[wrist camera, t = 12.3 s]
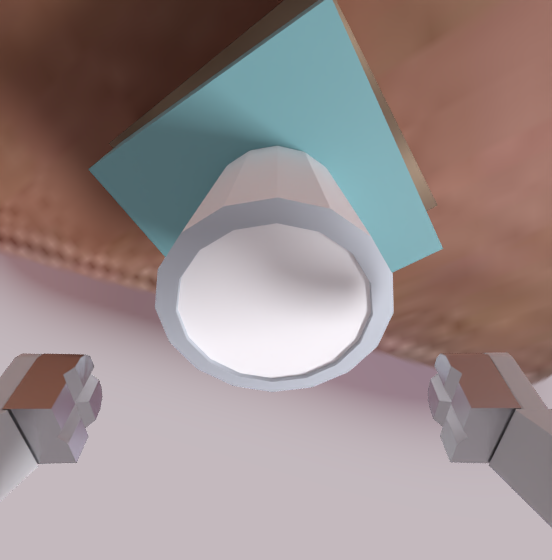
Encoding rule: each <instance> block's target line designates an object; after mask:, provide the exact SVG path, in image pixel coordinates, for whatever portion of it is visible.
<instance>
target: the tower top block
mask: <svg viewBox="0 0 552 560" xmlns="http://www.w3.org/2000/svg"><path fill="white" fill-rule="evenodd" d="M272 146H281V147H286V148H290V149H294V150H299V151H303V152H305V153H307V154H308V155H310V156H311V157H312V158H314V159H315V160H316V161H318V162H319V163H321V164H322V165H323V166H325V167H326V168H327V170H328V171H329V173H330V174H331V176H332V177H333V179H334V180H335V182H336V183H337V185H338V186H339V188H340V189H341V191H342V193H343V194H344V196H345V197H346V199H347V200H348V202H349V203H350V205H351V206H352V208H353V209H354V211H355V212H356V214H357V216H358V217H359V219H360V220H361V222H362V223H363V225H364V226H365V228H366V229H367V231H368V232H369V234H370V235H371V237H372V239H373V241H374V242H375V244H376V246H377V248H378V249H379V251H380V253H381V255H382V256H383V258H384V260H385V262H386V263H387V265H388V267H389V269H390V270H391V272H394V271H396V270H399V269H401V268H403V267H405V266H407V265H409V264H411V263H413V262H416V261H418V260H420V259H422V258H424V257H426V256H428V255H430V254H433V253H435V252H437V251H439V250H441V249H443V248H442V246H441V243H440V241H439V239H438V237H437V234H436V232H435V230H434V228H433V225H432V223H431V221H430V219H429V216H428V214H427V212H426V209H425V207H424V205H423V203H422V200H421V198H420V196H419V194H418V191H417V189H416V187H415V185H414V182H413V180H412V178H411V176H410V173H409V171H408V169H407V167H406V164H405V162H404V160H403V158H402V155H401V153H400V151H399V149H398V146H397V144H396V142H395V140H394V137H393V135H392V133H391V131H390V128H389V126H388V124H387V122H386V119H385V117H384V115H383V113H382V110H381V108H380V106H379V104H378V101H377V99H376V97H375V95H374V92H373V90H372V88H371V86H370V83H369V81H368V79H367V77H366V74H365V72H364V70H363V68H362V65H361V63H360V61H359V59H358V56H357V54H356V52H355V49H354V47H353V45H352V43H351V40H350V38H349V36H348V34H347V31H346V29H345V27H344V25H343V22H342V20H341V18H340V16H339V13H338V11H337V9H336V7H335V4H334V2H333V0H318V1H317V2H315V3H314V4H313V5H311V6H310V7H308V8H307V9H306V10H304V11H303V12H301V13H300V14H299V15H297V16H296V17H294V18H293V19H292V20H290V21H289V22H288V23H286V24H285V25H283V26H282V27H281V28H279V29H278V30H276V31H275V32H274V33H272V34H271V35H269V36H268V37H267V38H265V39H264V40H262V41H261V42H260V43H258V44H257V45H256V46H254V47H253V48H251V49H250V50H249V51H247V52H246V53H244V54H243V55H242V56H240V57H239V58H237V59H236V60H235V61H233V62H232V63H230V64H229V65H228V66H226V67H225V68H223V69H222V70H221V71H219V72H218V73H217V74H215V75H214V76H212V77H211V78H210V79H208V80H207V81H205V82H204V83H203V84H201V85H200V86H198V87H197V88H196V89H194V90H193V91H191V92H190V93H189V94H187V95H186V96H185V97H183V98H182V99H180V100H179V101H178V102H176V103H175V104H173V105H172V106H171V107H169V108H168V109H166V110H165V111H164V112H162V113H161V114H159V115H158V116H157V117H155V118H154V119H152V120H151V121H150V122H148V123H147V124H146V125H144V126H143V127H141V128H140V129H139V130H137V131H136V132H134V133H133V134H132V135H130V136H129V137H127V138H126V139H125V140H123V141H122V142H120V143H119V144H118V145H117V146H116V147H114V148H113V149H112V150H111V151H110V152H108V153H107V154H106V155H105V156H104V157H102V158H101V159H100V160H99V161H98V162H96V163H95V164H94V165H93V166H92V167H90V168H89V171H90V172H91V173H92V174H93V175H94V176H95V177H96V179H97V180H98V181H99V182H100V183H101V184H102V185H103V187H104V188H105V189H106V190H107V191H108V192H109V193H110V195H111V196H112V197H113V198H114V199H115V200H116V201H117V202H118V204H119V205H120V206H121V207H122V208H123V209H124V210H125V212H126V213H127V214H128V215H129V216H130V217H131V218H132V220H133V221H134V222H135V223H136V224H137V225H138V226H139V228H140V229H141V230H142V231H143V232H144V233H145V234H146V236H147V237H148V238H149V239H150V240H151V241H152V242H153V244H154V245H155V246H156V247H157V248H158V249H159V250H160V251H161V253H162V254H163V255H164V256H165V257H166V256H167V254H168V253H169V251H170V249H171V248H172V246H173V245H174V243H175V242H176V240H177V239H178V237H179V235H180V234H181V232H182V231H183V229H184V228H185V226H186V225H187V223H188V222H189V221H190V219H191V218H192V216H193V215H194V213H195V212H196V210H197V209H198V207H199V206H200V204H201V203H202V201H203V200H204V199H205V197H206V196H207V194H208V193H209V191H210V190H211V188H212V187H213V185H214V184H215V182H216V181H217V179H218V178H219V176H220V175H221V174H222V172H223V171H224V169H225V168H226V166H227V165H228V164H230V163H231V162H233V161H234V160H236V159H237V158H239V157H241V156H242V155H244V154H245V153H247V152H248V151H250V150H255V149H261V148H266V147H272Z"/></svg>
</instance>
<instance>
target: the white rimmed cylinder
mask: <svg viewBox="0 0 552 560" xmlns="http://www.w3.org/2000/svg"><path fill="white" fill-rule="evenodd" d="M155 309H156V311H157V314H158V316H159V318H160V321H161V323H162V325H163V328H164V330H165V332H166V335H167V337H168V339H169V342H170V343H171V344H172V345H173V346H174V347H175V348H176V349H177V350H178V351H179V352H180V353H181V354H182V355H183V356H184V357H185V358H186V359H187V360H188V361H190V363H191V364H193V365H194V366H195V367H196V368H197V369H198V370H200V371H202V372H205V373H207V374H209V375H211V376H213V377H215V378H217V379H220V380H222V381H224V382H226V383H228V384H230V385H232V386H238V387H244V388H250V389H257V390H264V391H270V392H276V391H285V390H293V389H302V388H310V387H314V386H316V385H319V384H321V383H323V382H326V381H328V380H331V379H332V378H335V377H337V376H340V375H342V374H344V373H347V372H349V371H350V370H351V369H352V368H353V367H355V366H356V365H357V364H358V363H359V362H360V361H361V360H362V359H364V358H365V357H366V356H367V355H368V354H369V353H370V352H372V351H373V350H374V349H375V348H376V347H377V346H378V344H379V342H380V340H381V338H382V335H383V333H384V331H385V329H386V327H387V325H388V323H389V321H390V319H391V317H392V315H393V274H392V272H391V270H390V269H389V267H388V265H387V263H386V262H385V260H384V258H383V256H382V255H381V253H380V251H379V249H378V248H377V246H376V244H375V242H374V241H373V239H372V237H371V235H370V234H369V232H368V231H367V229H366V228H365V226H364V225H363V223H362V222H361V220H360V219H359V217H358V216H357V214H356V212H355V211H354V209H353V208H352V206H351V205H350V203H349V202H348V200H347V199H346V197H345V196H344V194H343V193H342V191H341V189H340V188H339V186H338V185H337V183H336V182H335V180H334V179H333V177H332V176H331V174H330V173H329V171H328V170H327V168H326V167H325V166H323V165H322V164H321V163H319V162H318V161H316V160H315V159H314V158H312V157H311V156H310V155H308V154H307V153H305V152H303V151H299V150H294V149H290V148H286V147H281V146H272V147H266V148H261V149H255V150H250V151H248V152H247V153H245V154H244V155H242V156H241V157H239V158H237V159H236V160H234V161H233V162H231V163H230V164H228V165H227V166H226V168H225V169H224V171H223V172H222V174H221V175H220V176H219V178H218V179H217V181H216V182H215V184H214V185H213V187H212V188H211V190H210V191H209V193H208V194H207V196H206V197H205V199H204V200H203V201H202V203H201V204H200V206H199V207H198V209H197V210H196V212H195V213H194V215H193V216H192V218H191V219H190V221H189V222H188V223H187V225H186V226H185V228H184V229H183V231H182V232H181V234H180V235H179V237H178V239H177V240H176V242H175V243H174V245H173V246H172V248H171V249H170V251H169V253H168V254H167V256H166V257H165V259H164V260H163V262H162V264H161V265H160V267H159V268H158V275H157V289H156V302H155Z"/></svg>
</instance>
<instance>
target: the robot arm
mask: <svg viewBox="0 0 552 560" xmlns="http://www.w3.org/2000/svg"><path fill="white" fill-rule="evenodd" d="M93 368H94V365H93V362H92V360H91V357H90V356H88V355H78V354H77V355H76V354H21V355H19V356H17V357H16V358H15V359H14V360H13V361H12V363H11V364H10V365H9V366H8V368H7V369H6V370H5V372H4V373H3V375H2V376H1V377H0V502H1V501H2V500H3V499H4V498H5V497H6V496H7V495H8V494H9V493H10V492H11V491H12V490H13V489H14V488H16V487H17V485H19V484H20V483H21V482H22V481H23V480H24V479H25V478H26V477H27V476H28V475H29V474H30V473H31V472H32V471H33V470H34V469H36V468H37V467H38V464H45V463H77V461H78V458H79V456H80V454H81V452H82V449H83V447H84V445H85V443H86V441H87V438H88V434H87V431H86V429H85V428H86V427H87V426H88V425H90V424H91V423H92V422H93V421H95V420H96V418H97V415H98V413H99V411H100V407H101V401H102V389H101V384H100V381H99V379H97V378H96V377H95V376H93V375H92V374H91V372H92V370H93ZM435 368H436V370H437V372H438V374H436V375H435V376H434V377H433V378H432V379H431V380H430V384H429V388H428V402H429V406H430V410H431V413H432V416H433V419H434V420H435V421H437V422H438V423H439V424H440V425H441V426H443V428H442V431H441V435H440V437H441V440H442V442H443V445H444V447H445V450H446V452H447V455H448V457H449V460H450V462H461V463H462V462H463V463H489V466H490V467H491V468H492V469H493V470H494V471H495V472H496V473H497V474H498V475H499V476H500V477H501V478H502V479H503V480H504V481H505V482H506V483H507V484H508V485H509V486H510V487H511V488H512V489H513V490H514V491H515V492H516V493H518V495H519V496H521V498H522V499H524V501H525V502H526V503H528V505H529V506H530V507H532V508H533V510H535V511H536V512H537V513H538V514H539V515H540V516H541V517H542V518H543V519H544V520H545V521H546V522H547V523H548V524H549V525H550V526H551V527H552V409H548V408H547V406H546V405H545V404H544V402H543V401H542V399H541V398H540V396H539V395H538V393H537V392H536V390H535V389H534V388H533V386H532V385H531V383H530V382H529V380H528V379H527V377H526V376H525V374H524V373H523V372H522V370H521V369H520V367H519V366H518V364H517V363H516V361H515V360H514V359H513V357H512V356H511V355H510V354H508V353H442V354H440V355H439V356H438V357H437V359H436V363H435Z"/></svg>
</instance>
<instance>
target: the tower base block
mask: <svg viewBox="0 0 552 560" xmlns="http://www.w3.org/2000/svg"><path fill="white" fill-rule="evenodd" d="M317 1H318V0H284V1H283V2H281V3H280V4H279V5H278V6H276V7H275V8H274V9H273V10H272V11H270V12H269V13H268V14H267V15H265V16H264V17H263V18H262V19H261V20H259V21H258V22H257V23H256V24H254V25H253V26H252V27H251V28H250V29H248V30H247V31H246V32H245V33H243V34H242V35H241V36H240V37H239V38H237V39H236V40H235V41H234V42H232V43H231V44H230V45H229V46H228V47H226V48H225V49H224V50H223V51H221V52H220V53H219V54H218V55H217V56H215V57H214V58H213V59H212V60H210V61H209V62H208V63H207V64H206V65H204V66H203V67H202V68H201V69H199V70H198V71H197V72H196V73H195V74H193V75H192V76H191V77H190V78H188V79H187V80H186V81H185V82H184V83H182V84H181V85H180V86H179V87H177V88H176V89H175V90H174V91H173V92H171V93H170V94H169V95H168V96H166V97H165V98H164V99H163V100H161V101H160V102H159V103H158V104H157V105H155V106H154V107H153V108H152V109H150V110H149V111H148V112H147V113H146V114H144V115H143V116H142V117H141V118H139V119H138V120H137V121H136V122H135V123H133V124H132V125H131V126H130V127H128V128H127V129H126V130H125V131H124V132H122V133H121V134H120V135H119V136H117V137H116V138H115V139H114V140H113V141H111V142H110V143H109V144H110V145H111V146H112V147H113V148H114V147H116V146H117V145H118V144H119V143H120V142H122V141H123V140H125V139H126V138H127V137H129V136H130V135H132V134H133V133H134V132H136V131H137V130H139V129H140V128H141V127H143V126H144V125H146V124H147V123H148V122H150V121H151V120H152V119H154V118H155V117H157V116H158V115H159V114H161V113H162V112H164V111H165V110H166V109H168V108H169V107H171V106H172V105H173V104H175V103H176V102H178V101H179V100H180V99H182V98H183V97H185V96H186V95H187V94H189V93H190V92H191V91H193V90H194V89H196V88H197V87H198V86H200V85H201V84H203V83H204V82H205V81H207V80H208V79H210V78H211V77H212V76H214V75H215V74H217V73H218V72H219V71H221V70H222V69H223V68H225V67H226V66H228V65H229V64H230V63H232V62H233V61H235V60H236V59H237V58H239V57H240V56H242V55H243V54H244V53H246V52H247V51H249V50H250V49H251V48H253V47H254V46H256V45H257V44H258V43H260V42H261V41H262V40H264V39H265V38H267V37H268V36H269V35H271V34H272V33H274V32H275V31H276V30H278V29H279V28H281V27H282V26H283V25H285V24H286V23H288V22H289V21H290V20H292V19H293V18H294V17H296V16H297V15H299V14H300V13H301V12H303V11H304V10H306V9H307V8H308V7H310V6H311V5H313V4H314V3H315V2H317ZM333 2H334V4H335V7H336V9H337V11H338V13H339V16H340V18H341V20H342V22H343V25H344V27H345V29H346V31H347V34H348V36H349V38H350V40H351V43H352V45H353V47H354V49H355V52H356V54H357V56H358V59H359V61H360V63H361V65H362V68H363V70H364V72H365V74H366V77H367V79H368V81H369V83H370V86H371V88H372V90H373V92H374V95H375V97H376V99H377V101H378V104H379V106H380V108H381V110H382V113H383V115H384V117H385V119H386V122H387V124H388V126H389V128H390V131H391V133H392V135H393V137H394V140H395V142H396V144H397V146H398V149H399V151H400V153H401V155H402V158H403V160H404V162H405V164H406V167H407V169H408V171H409V173H410V176H411V178H412V180H413V182H414V185H415V187H416V189H417V191H418V194H419V196H420V198H421V200H422V203H423V205H424V207H425V209H426V211H428V210H430V209H432V208H433V207H435V206H437V203H436V201H435V199H434V197H433V195H432V193H431V191H430V189H429V187H428V185H427V183H426V181H425V179H424V177H423V175H422V173H421V171H420V169H419V167H418V165H417V163H416V161H415V159H414V157H413V155H412V153H411V151H410V149H409V147H408V145H407V142H406V140H405V138H404V136H403V134H402V132H401V130H400V128H399V126H398V124H397V122H396V120H395V118H394V116H393V114H392V112H391V110H390V108H389V106H388V104H387V102H386V100H385V98H384V96H383V94H382V92H381V90H380V88H379V86H378V84H377V82H376V80H375V78H374V76H373V74H372V72H371V70H370V68H369V66H368V64H367V62H366V60H365V58H364V56H363V53H362V51H361V49H360V47H359V45H358V43H357V41H356V39H355V37H354V35H353V33H352V31H351V29H350V27H349V25H348V23H347V21H346V19H345V17H344V15H343V13H342V11H341V9H340V7H339V5H338V3H337V1H336V0H333Z"/></svg>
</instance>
